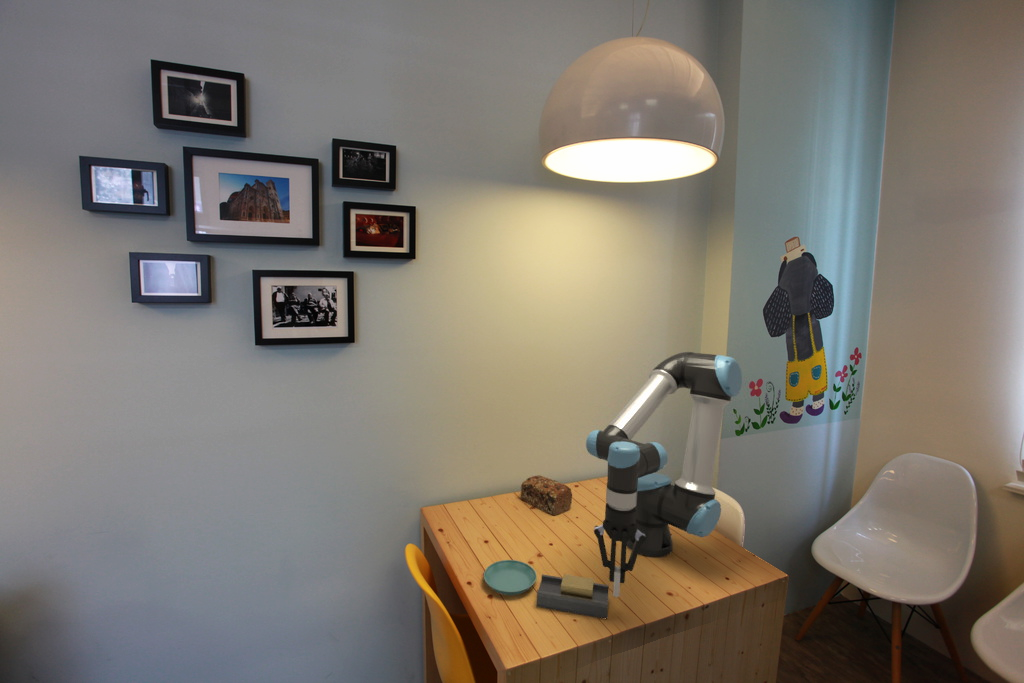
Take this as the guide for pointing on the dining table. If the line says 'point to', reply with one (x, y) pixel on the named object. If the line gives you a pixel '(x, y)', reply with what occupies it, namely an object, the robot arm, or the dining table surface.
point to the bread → (546, 494)
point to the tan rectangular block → (577, 586)
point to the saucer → (510, 577)
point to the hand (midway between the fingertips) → (616, 593)
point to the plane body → (572, 598)
